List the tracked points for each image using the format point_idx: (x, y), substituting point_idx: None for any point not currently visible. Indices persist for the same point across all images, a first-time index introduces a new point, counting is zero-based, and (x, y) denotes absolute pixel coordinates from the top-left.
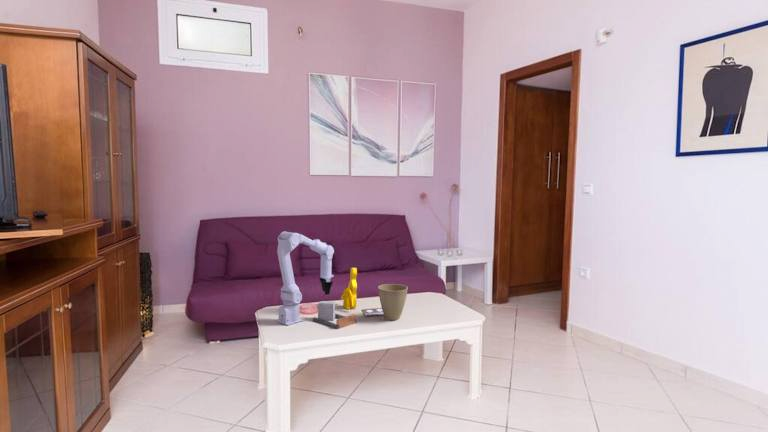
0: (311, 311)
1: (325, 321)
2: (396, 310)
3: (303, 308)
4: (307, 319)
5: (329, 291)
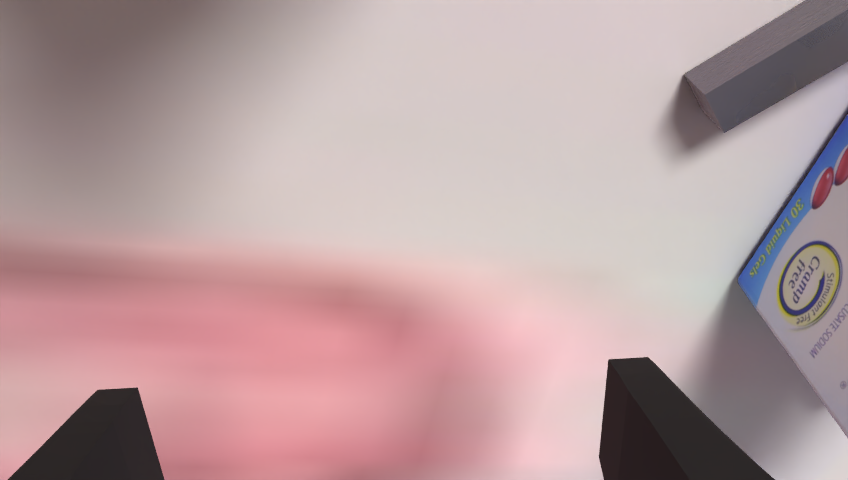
0: (342, 375)
1: None
2: None
3: None
4: (739, 435)
5: (706, 423)
